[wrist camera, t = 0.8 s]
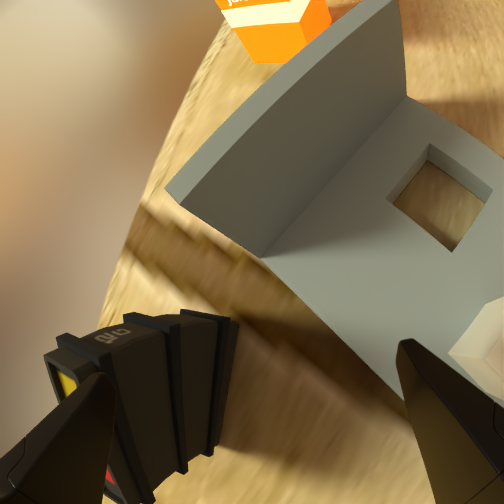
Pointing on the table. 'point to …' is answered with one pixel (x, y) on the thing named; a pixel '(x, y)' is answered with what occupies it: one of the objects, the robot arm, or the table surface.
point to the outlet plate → (353, 194)
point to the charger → (484, 349)
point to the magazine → (153, 392)
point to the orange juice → (275, 26)
